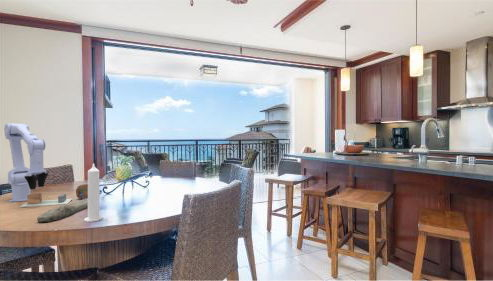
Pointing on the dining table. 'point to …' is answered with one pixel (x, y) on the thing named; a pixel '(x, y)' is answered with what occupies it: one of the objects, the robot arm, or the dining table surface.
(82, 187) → the tin
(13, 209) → the dining table surface
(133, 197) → the dining table surface
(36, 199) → the block
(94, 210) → the candle
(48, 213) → the long grey stone
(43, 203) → the board
